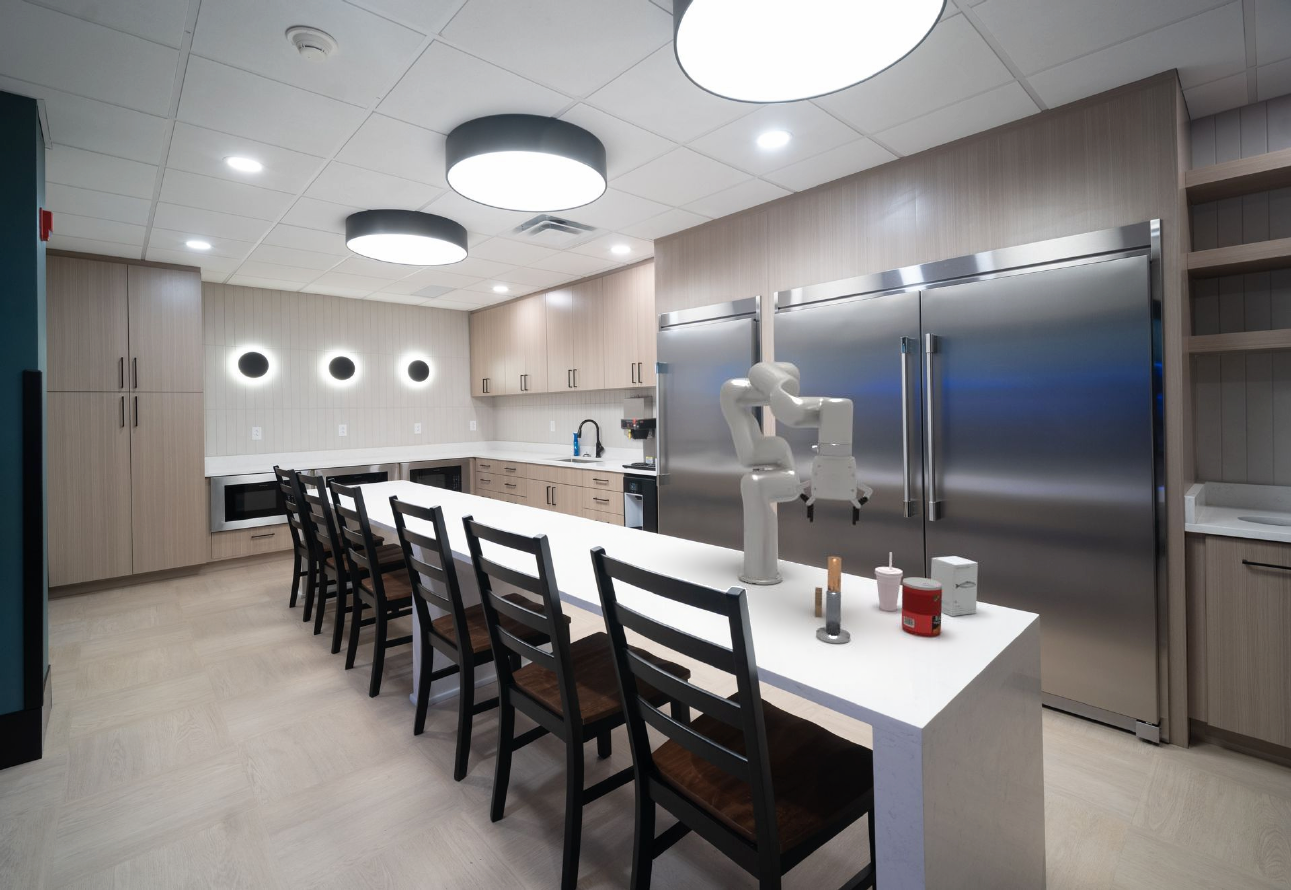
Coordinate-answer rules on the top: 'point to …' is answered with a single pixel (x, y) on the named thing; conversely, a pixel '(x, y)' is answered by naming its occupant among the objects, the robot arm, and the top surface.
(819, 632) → the pivot base
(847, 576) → the top surface
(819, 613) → the brown wooden block
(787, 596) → the top surface
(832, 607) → the double handled crank lever
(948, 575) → the supplement box
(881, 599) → the smoothie
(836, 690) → the top surface
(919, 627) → the canned food
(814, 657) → the top surface
